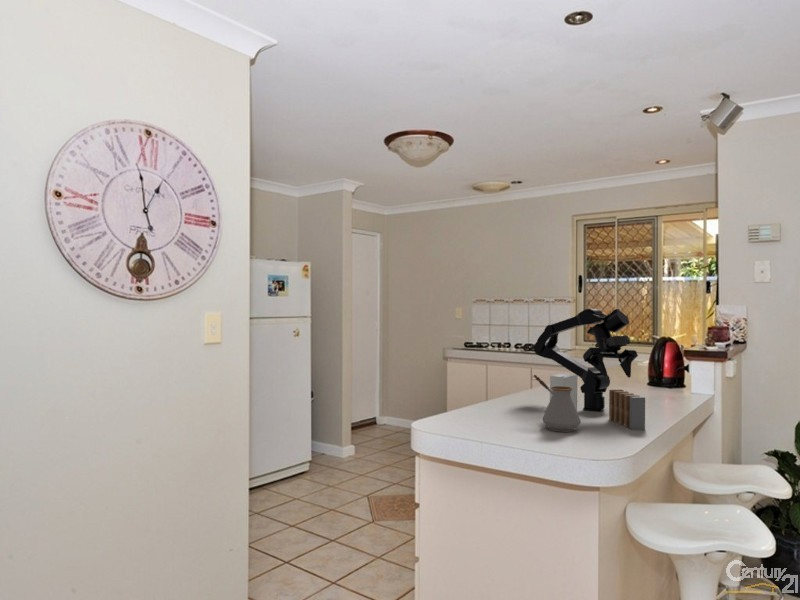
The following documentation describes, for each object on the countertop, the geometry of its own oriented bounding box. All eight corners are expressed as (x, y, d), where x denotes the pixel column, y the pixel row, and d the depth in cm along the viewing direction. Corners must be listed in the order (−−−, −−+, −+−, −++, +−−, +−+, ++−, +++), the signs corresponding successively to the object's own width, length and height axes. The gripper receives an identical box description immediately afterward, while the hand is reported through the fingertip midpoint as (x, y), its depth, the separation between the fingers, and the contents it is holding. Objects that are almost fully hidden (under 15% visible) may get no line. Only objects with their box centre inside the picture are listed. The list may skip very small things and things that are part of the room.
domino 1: (609, 419, 183) (609, 389, 183) (621, 419, 183) (621, 389, 183) (611, 420, 181) (611, 390, 181) (623, 420, 182) (623, 390, 182)
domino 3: (618, 423, 176) (619, 393, 176) (631, 423, 177) (631, 392, 177) (621, 424, 175) (621, 393, 175) (633, 424, 175) (634, 393, 175)
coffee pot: (588, 432, 164) (589, 382, 164) (556, 434, 160) (557, 384, 160) (547, 417, 184) (548, 373, 184) (518, 419, 181) (518, 375, 181)
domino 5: (629, 428, 169) (629, 396, 170) (642, 428, 170) (642, 396, 170) (632, 429, 168) (632, 397, 168) (645, 429, 168) (645, 397, 168)
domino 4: (624, 426, 173) (624, 394, 173) (636, 425, 173) (636, 394, 173) (626, 427, 171) (626, 395, 171) (639, 427, 172) (639, 395, 172)
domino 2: (613, 421, 180) (614, 391, 180) (626, 421, 180) (626, 391, 180) (616, 422, 178) (616, 392, 178) (628, 422, 178) (628, 392, 178)
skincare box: (562, 414, 189) (563, 372, 189) (578, 417, 185) (578, 374, 185) (548, 417, 184) (548, 374, 184) (563, 421, 179) (564, 376, 179)
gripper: (592, 324, 188) (606, 363, 178) (638, 327, 192) (654, 366, 183) (576, 341, 196) (589, 380, 187) (621, 344, 200) (636, 381, 191)
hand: (618, 376), depth 187 cm, fingers open, 9 cm apart
